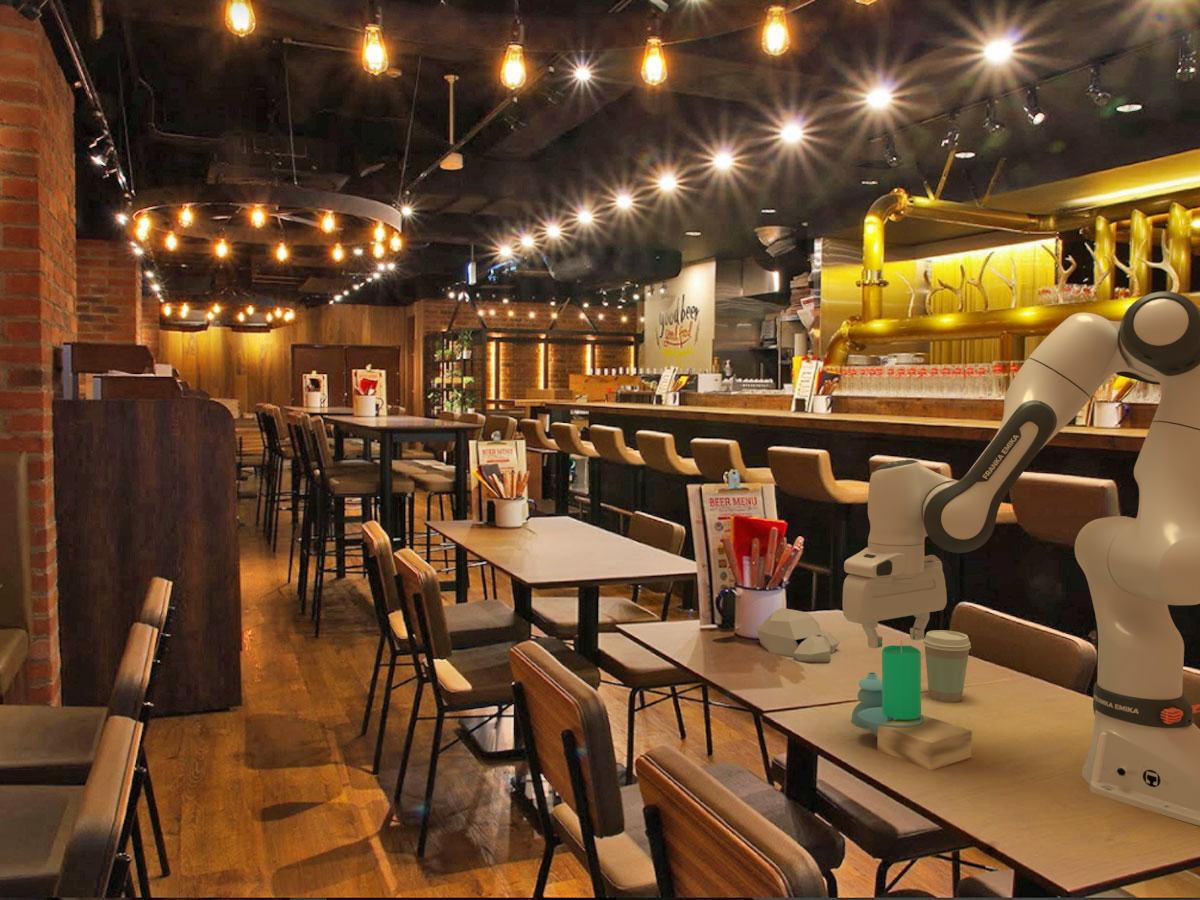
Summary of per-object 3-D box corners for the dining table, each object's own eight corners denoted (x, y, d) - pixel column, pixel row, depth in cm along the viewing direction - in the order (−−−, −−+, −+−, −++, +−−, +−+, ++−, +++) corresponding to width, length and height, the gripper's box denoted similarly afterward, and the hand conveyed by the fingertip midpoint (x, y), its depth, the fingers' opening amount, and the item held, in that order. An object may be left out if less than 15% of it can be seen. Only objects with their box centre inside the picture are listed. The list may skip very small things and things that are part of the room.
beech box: (971, 762, 155) (972, 730, 155) (930, 775, 150) (931, 743, 149) (917, 743, 164) (918, 713, 163) (876, 755, 158) (877, 724, 158)
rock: (838, 646, 226) (839, 604, 226) (841, 669, 207) (842, 623, 206) (757, 641, 230) (758, 599, 230) (752, 663, 211) (753, 618, 210)
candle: (894, 706, 166) (893, 634, 165) (928, 713, 161) (927, 640, 161) (875, 714, 161) (874, 640, 161) (909, 721, 157) (909, 646, 157)
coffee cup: (973, 706, 182) (975, 641, 182) (924, 703, 184) (926, 638, 183) (965, 692, 191) (967, 630, 190) (919, 689, 193) (920, 628, 192)
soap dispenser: (934, 753, 156) (934, 696, 156) (868, 755, 156) (868, 697, 156) (895, 719, 174) (895, 667, 174) (836, 720, 174) (836, 668, 174)
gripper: (926, 551, 170) (926, 631, 171) (835, 563, 160) (836, 647, 161) (955, 556, 165) (956, 638, 166) (864, 568, 155) (864, 656, 156)
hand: (896, 643), depth 163 cm, fingers open, 8 cm apart
